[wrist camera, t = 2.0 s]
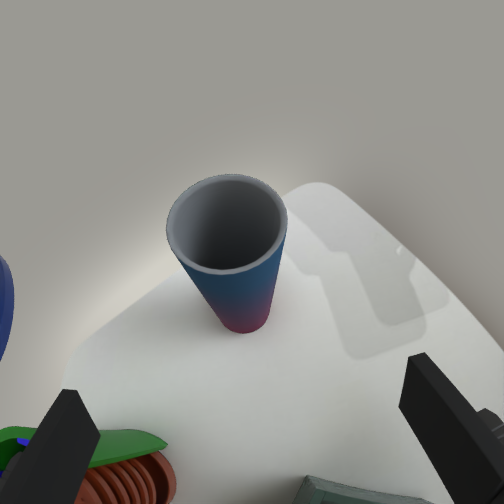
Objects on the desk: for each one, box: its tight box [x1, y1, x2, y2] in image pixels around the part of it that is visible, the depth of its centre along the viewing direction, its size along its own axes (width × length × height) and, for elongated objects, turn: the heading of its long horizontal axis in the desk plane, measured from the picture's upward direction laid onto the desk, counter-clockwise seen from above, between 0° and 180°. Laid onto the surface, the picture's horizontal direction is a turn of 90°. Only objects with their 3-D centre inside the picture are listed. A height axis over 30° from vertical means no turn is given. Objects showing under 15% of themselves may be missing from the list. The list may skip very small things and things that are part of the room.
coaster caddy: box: [0, 426, 176, 504], centre depth 13 cm, size 10×9×20 cm
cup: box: [166, 174, 288, 333], centre depth 24 cm, size 7×7×15 cm
